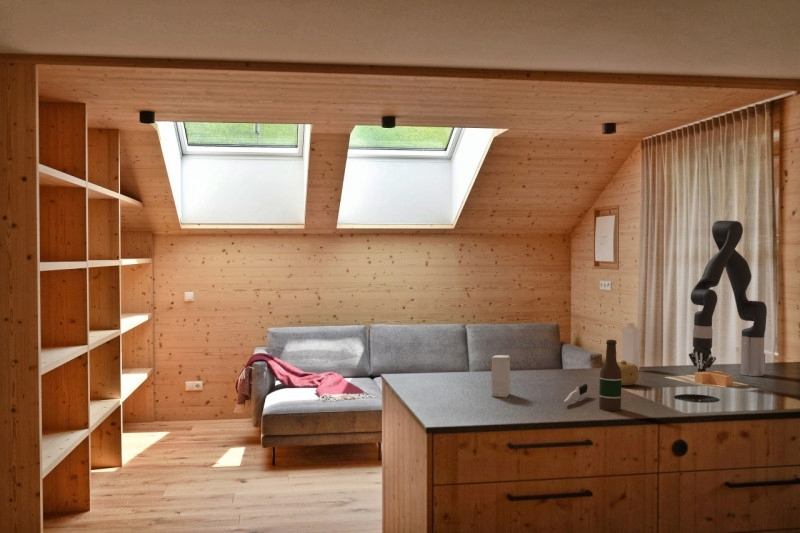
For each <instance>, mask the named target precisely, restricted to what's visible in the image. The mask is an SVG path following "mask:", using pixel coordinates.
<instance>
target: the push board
mask: <svg viewBox="0 0 800 533" xmlns="http://www.w3.org/2000/svg"><path fill="white" fill-rule="evenodd" d="M664 378H666V379H669V380H674V381H679V382H683V383H687V384H692V385H696V386H701V387H704V388H705V387H706V388H711V389H721V388H732V387H741V386H744V387H745V386H748V384H745V383H742V382H737V381H733V386H727V387H725V386H720V385H716V384H711V383H705V384H701V383H697V382H695V374H689V375H688V374H687V375H675V376H665V377H664Z"/></svg>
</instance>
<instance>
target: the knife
mask: <svg viewBox="0 0 800 533" xmlns="http://www.w3.org/2000/svg"><path fill="white" fill-rule="evenodd" d="M587 392H588V384H587V383H585V384H582V385H580V386H576V387H575V389H574V390H573V391H571V392H569V394H568V395H567V397H565V399H564V400H563V404H564V405H565V406H568V407H569V406H570V405H571V404H572V403H573V402H574V401H579V399H580V396H581V395H584V394H586V393H587Z"/></svg>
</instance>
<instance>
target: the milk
mask: <svg viewBox="0 0 800 533" xmlns="http://www.w3.org/2000/svg"><path fill="white" fill-rule="evenodd" d="M620 341H621V344H620V345H621V347H620V348H621V349H620V352H621V354H620V355H621V356H620V362H621V361H623V360H624V361H626V363H632V364H635V365H636V366H637V367H638V372H639V371H640V357H641V356H640V349H641V347H640V346H641V330H640V328H638V327H637V326H636V325H635V322H627V325H626V327H624V328H622V329H621V340H620Z"/></svg>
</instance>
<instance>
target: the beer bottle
mask: <svg viewBox="0 0 800 533" xmlns="http://www.w3.org/2000/svg"><path fill="white" fill-rule="evenodd" d="M605 344H606V350H605V351H606V352H605V360H604V363H603V364H602V367H601V368H600V372H599V394H598V395H599V396H598V397H599V400H598V404H599V406H598V407H599V409H600V410H602V411H606V412H619V411H621V408H622V385H621V380H622V377H621V370H620V367H619V366H618V364H617V362H618V361H617V344H618V343H617V340H616V339H606V342H605Z"/></svg>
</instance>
